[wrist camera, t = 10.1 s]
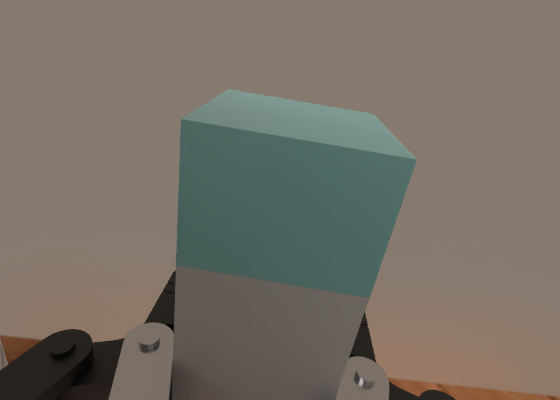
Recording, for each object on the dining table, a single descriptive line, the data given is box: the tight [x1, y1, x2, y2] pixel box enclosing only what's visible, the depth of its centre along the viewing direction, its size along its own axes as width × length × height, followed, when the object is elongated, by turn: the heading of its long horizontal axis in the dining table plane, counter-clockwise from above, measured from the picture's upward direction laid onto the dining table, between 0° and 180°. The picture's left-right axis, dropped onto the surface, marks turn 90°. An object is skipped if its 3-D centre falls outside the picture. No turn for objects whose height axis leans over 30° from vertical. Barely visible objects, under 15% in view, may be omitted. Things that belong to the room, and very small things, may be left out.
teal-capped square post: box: [172, 89, 417, 400], centre depth 10 cm, size 4×4×14 cm
